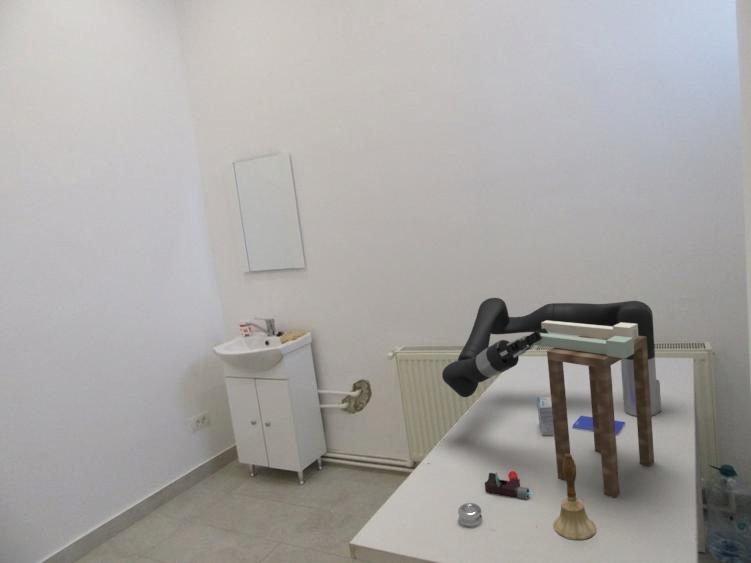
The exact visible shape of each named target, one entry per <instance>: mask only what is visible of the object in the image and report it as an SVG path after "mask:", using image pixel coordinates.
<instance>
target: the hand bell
mask: <svg viewBox="0 0 751 563" xmlns="http://www.w3.org/2000/svg"><path fill="white" fill-rule="evenodd" d="M563 474H564V478H565V480H566V481H565V482H566V496H567V498H564V499H563V500H562V501H561V502H560V514H559V516H558V517H557V518H555V520H554V522H553V526H552V527H553V529H554V531H555V532H556V533H557V535H559V536H561V537H563V538H566V539H570V540H574V541H576V540H579V541H582V540H587V539H590V538H591V537H593V536H594V535H595V534H596V532H597V526H596V525H595V523H594V521H592V520H591V519H590V518H589V517H588V514H587V513H586V508H585V505H584V503H583V501H582V500H580V499H578V498H577V494H576V493H577V492H576V485H575V484H576V483H575V482H576V479H577V466H576V462H575V460H574V458H573V455H572V453H570V454H565V458H564V461H563Z"/></svg>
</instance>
